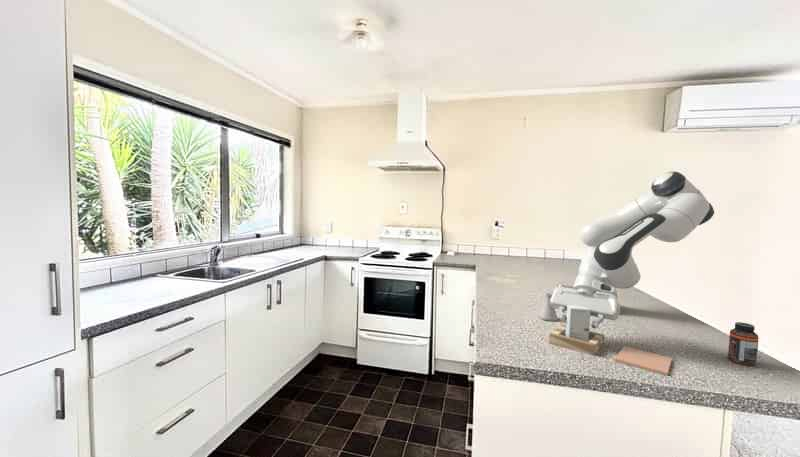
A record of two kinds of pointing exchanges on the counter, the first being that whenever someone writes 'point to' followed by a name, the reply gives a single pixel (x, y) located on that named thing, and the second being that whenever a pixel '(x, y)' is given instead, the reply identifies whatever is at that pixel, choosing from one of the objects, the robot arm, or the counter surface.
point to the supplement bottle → (743, 344)
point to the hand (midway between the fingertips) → (577, 323)
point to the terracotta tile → (644, 360)
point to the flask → (548, 310)
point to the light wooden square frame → (577, 341)
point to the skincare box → (577, 322)
